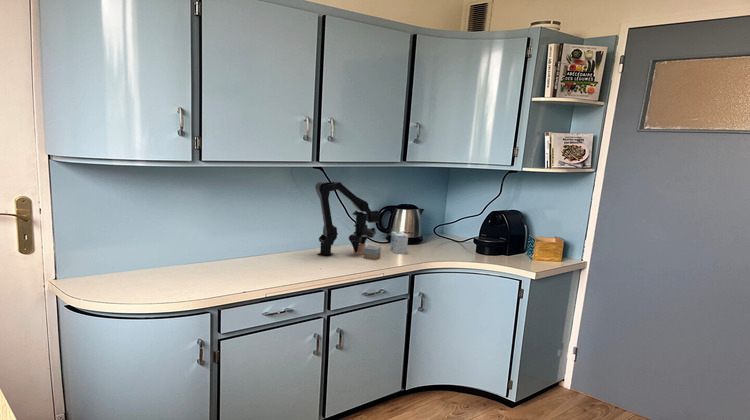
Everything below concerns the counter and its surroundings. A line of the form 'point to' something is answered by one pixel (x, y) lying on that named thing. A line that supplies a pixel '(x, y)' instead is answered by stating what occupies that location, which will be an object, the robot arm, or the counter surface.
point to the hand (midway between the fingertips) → (359, 250)
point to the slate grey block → (372, 250)
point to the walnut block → (372, 256)
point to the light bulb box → (399, 242)
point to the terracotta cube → (360, 249)
